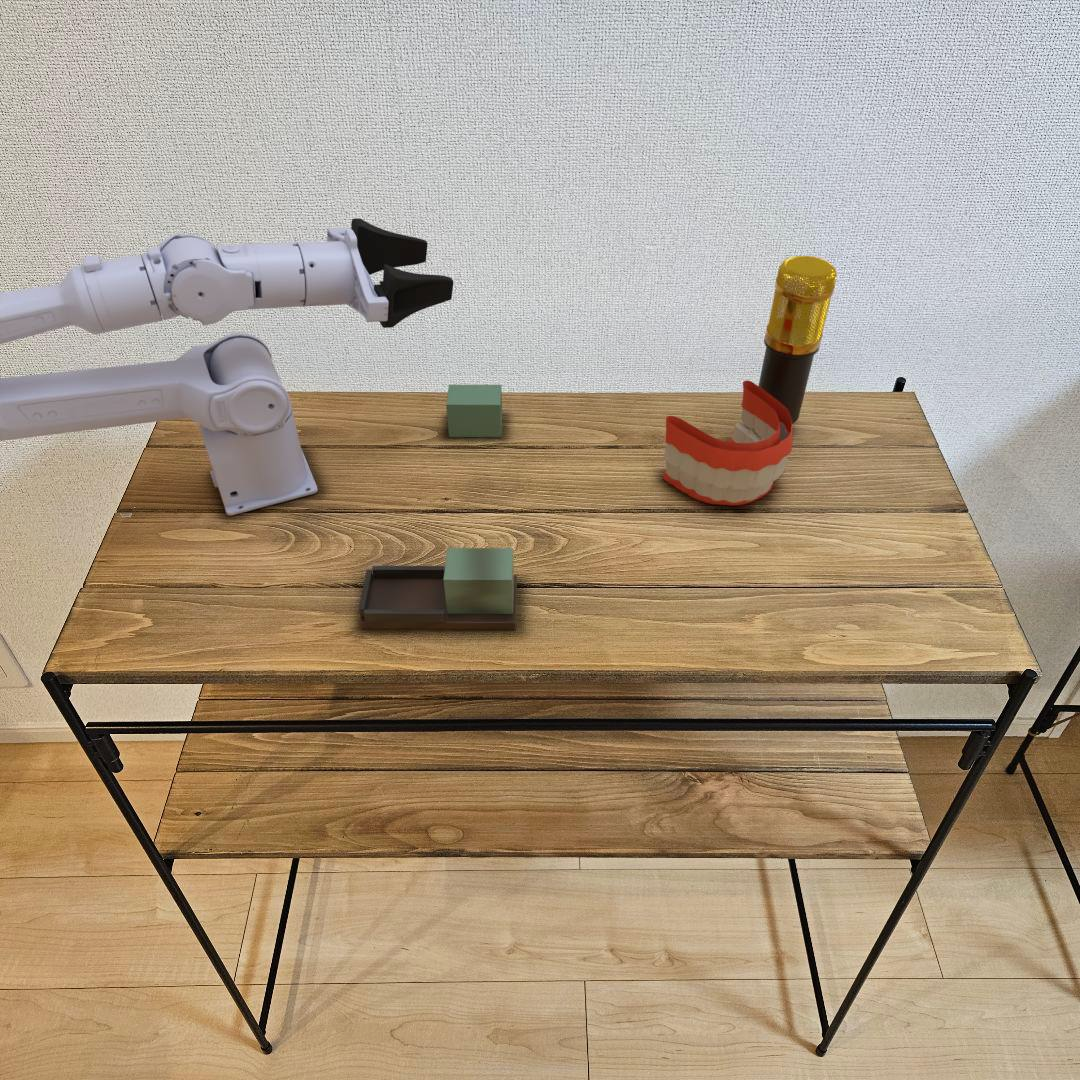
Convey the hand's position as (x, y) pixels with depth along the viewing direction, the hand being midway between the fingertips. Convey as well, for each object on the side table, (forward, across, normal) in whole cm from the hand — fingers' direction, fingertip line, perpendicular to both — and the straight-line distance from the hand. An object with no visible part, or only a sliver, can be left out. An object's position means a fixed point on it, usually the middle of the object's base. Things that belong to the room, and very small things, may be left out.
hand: (438, 269), depth 88 cm
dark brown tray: (-7, -26, +20) cm, 33 cm away
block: (+6, -1, +20) cm, 21 cm away
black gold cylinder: (+41, -16, +13) cm, 46 cm away
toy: (+28, -21, +15) cm, 38 cm away
